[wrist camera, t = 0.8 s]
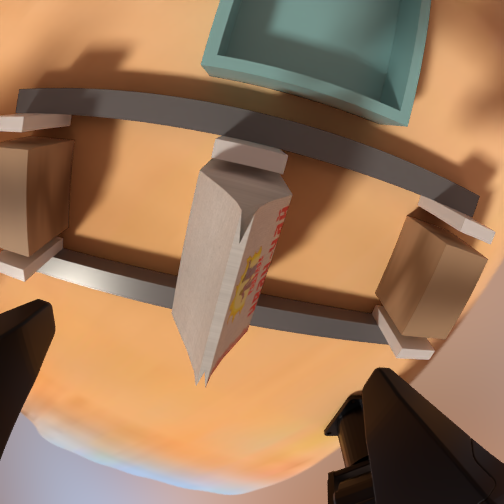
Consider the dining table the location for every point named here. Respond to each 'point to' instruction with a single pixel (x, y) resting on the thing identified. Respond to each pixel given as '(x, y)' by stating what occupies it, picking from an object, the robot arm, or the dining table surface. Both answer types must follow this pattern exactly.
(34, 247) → the walnut block
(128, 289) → the clip holder
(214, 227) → the tea bag
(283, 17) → the teal tray
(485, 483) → the robot arm
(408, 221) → the walnut block
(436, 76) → the dining table surface
